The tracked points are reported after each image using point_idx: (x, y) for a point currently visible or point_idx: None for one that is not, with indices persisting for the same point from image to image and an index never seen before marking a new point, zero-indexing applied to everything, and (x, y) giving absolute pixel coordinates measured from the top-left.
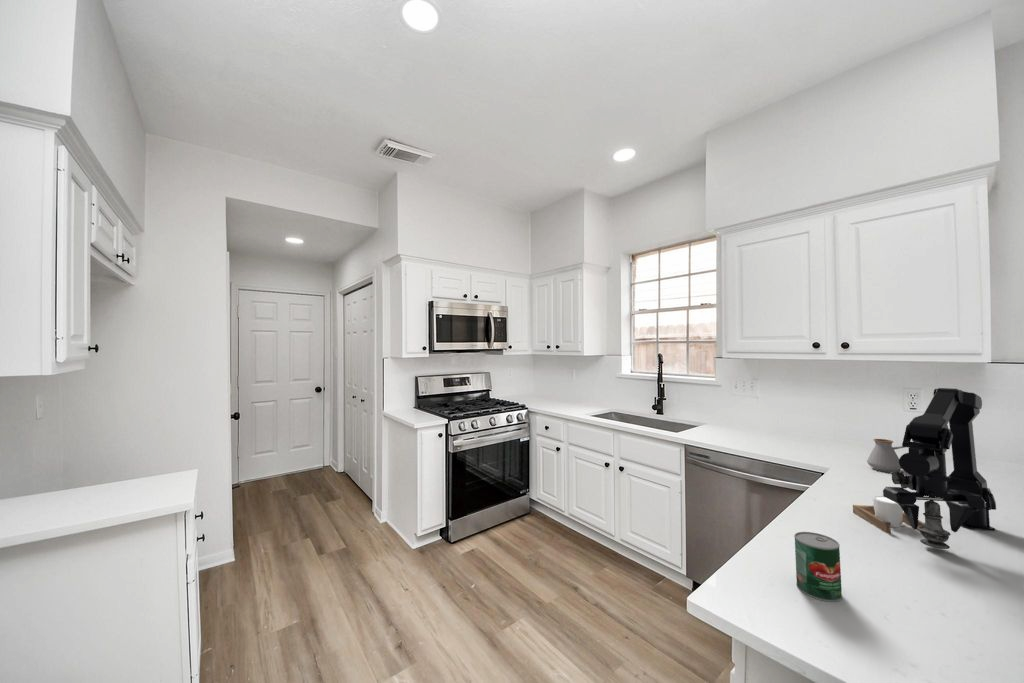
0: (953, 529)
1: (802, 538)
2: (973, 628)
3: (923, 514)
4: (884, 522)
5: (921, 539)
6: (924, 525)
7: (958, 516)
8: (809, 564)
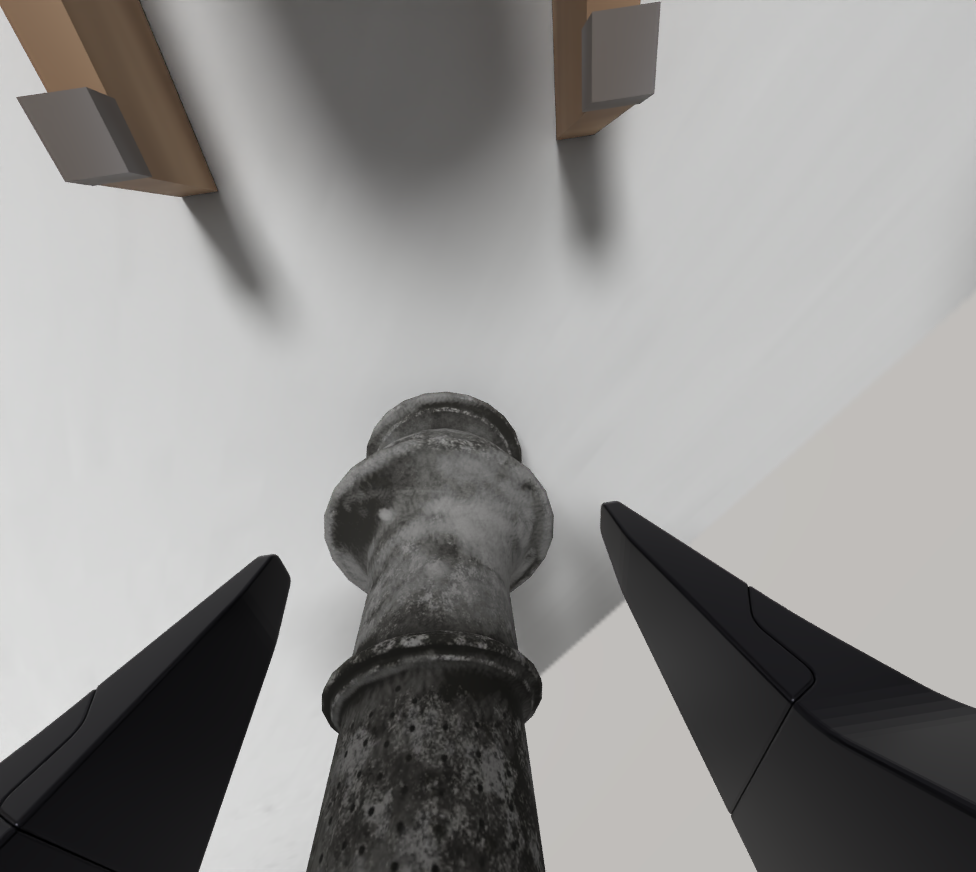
0: (607, 535)
1: None
2: (313, 821)
3: (322, 707)
4: (61, 151)
5: (384, 425)
6: (368, 558)
7: (709, 743)
8: None
